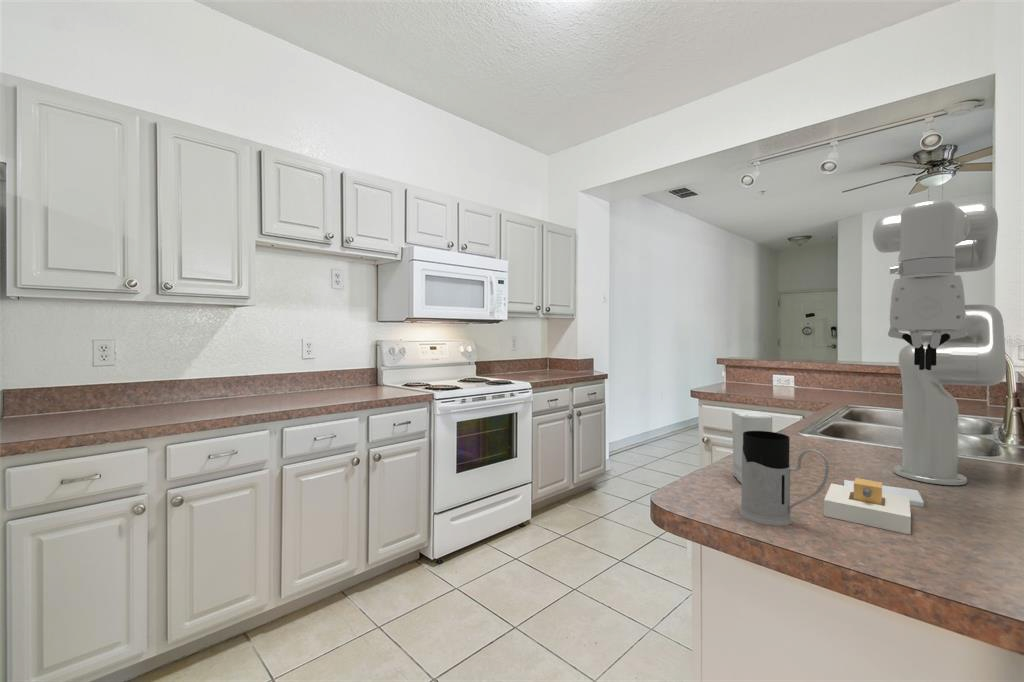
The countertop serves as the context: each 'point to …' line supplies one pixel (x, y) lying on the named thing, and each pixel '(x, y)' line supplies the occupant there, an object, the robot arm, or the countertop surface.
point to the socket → (868, 509)
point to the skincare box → (741, 425)
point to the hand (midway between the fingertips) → (924, 369)
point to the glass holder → (769, 478)
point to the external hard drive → (898, 493)
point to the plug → (868, 491)
